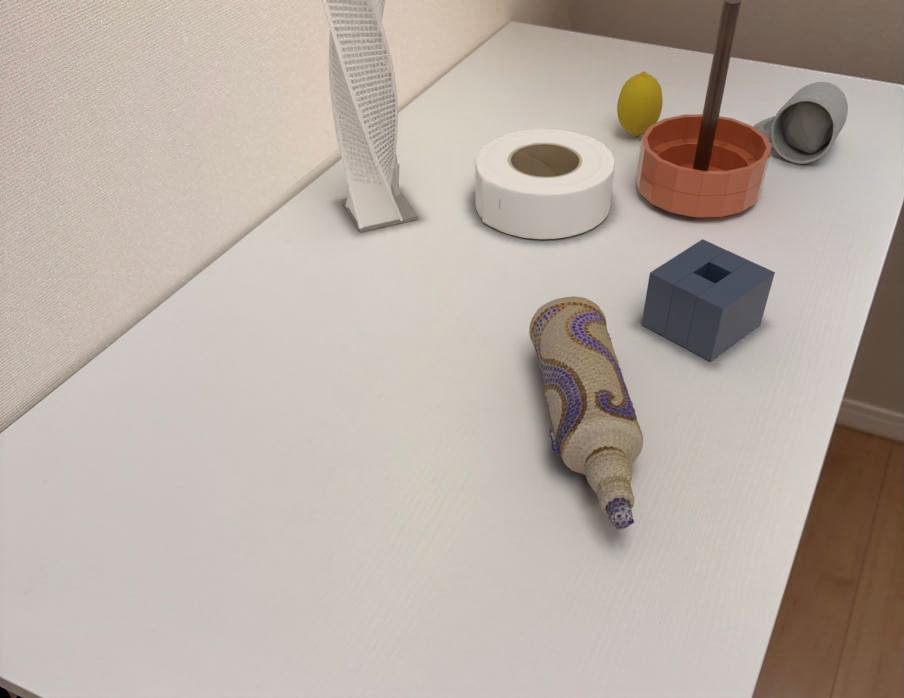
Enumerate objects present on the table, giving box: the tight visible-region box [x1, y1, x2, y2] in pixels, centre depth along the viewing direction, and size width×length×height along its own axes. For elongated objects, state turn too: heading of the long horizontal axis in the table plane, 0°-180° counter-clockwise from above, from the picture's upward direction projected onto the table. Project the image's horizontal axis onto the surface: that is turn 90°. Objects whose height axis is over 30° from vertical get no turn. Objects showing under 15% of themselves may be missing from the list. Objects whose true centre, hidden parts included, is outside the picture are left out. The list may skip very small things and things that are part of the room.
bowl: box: [635, 113, 773, 219], centre depth 109 cm, size 14×14×6 cm
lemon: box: [616, 70, 664, 138], centre depth 117 cm, size 6×6×8 cm
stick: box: [693, 0, 743, 171], centre depth 103 cm, size 2×2×20 cm
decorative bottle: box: [528, 295, 644, 530], centre depth 80 cm, size 26×8×7 cm, turn 5°
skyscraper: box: [321, 0, 419, 233], centre depth 98 cm, size 8×8×28 cm
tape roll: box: [474, 128, 616, 240], centre depth 107 cm, size 16×16×6 cm
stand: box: [641, 238, 776, 363], centre depth 91 cm, size 8×8×6 cm
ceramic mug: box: [752, 81, 849, 165], centre depth 115 cm, size 11×8×8 cm
